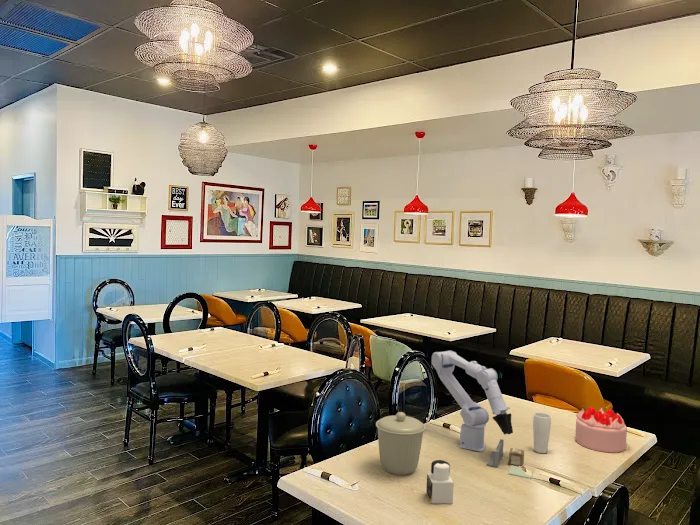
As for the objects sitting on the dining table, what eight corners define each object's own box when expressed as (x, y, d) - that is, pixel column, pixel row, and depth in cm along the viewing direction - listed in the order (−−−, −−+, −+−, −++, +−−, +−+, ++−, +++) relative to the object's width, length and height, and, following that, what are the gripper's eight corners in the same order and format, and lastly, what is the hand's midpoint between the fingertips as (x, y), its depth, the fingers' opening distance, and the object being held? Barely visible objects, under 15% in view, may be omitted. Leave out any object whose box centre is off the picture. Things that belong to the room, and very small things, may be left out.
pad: (508, 474, 194) (508, 473, 194) (511, 466, 202) (511, 465, 202) (531, 478, 191) (531, 477, 191) (533, 470, 198) (533, 469, 198)
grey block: (486, 465, 201) (487, 449, 201) (492, 452, 214) (493, 437, 214) (497, 467, 200) (498, 451, 199) (502, 454, 212) (503, 439, 212)
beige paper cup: (550, 455, 213) (552, 418, 212) (532, 453, 214) (534, 416, 214) (547, 449, 220) (549, 413, 219) (530, 447, 221) (532, 411, 220)
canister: (427, 463, 201) (430, 408, 200) (417, 483, 184) (420, 423, 183) (381, 455, 207) (383, 402, 206) (367, 474, 190) (370, 416, 189)
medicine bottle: (426, 493, 177) (427, 457, 177) (447, 493, 178) (448, 457, 177) (431, 503, 170) (432, 467, 170) (453, 503, 171) (454, 467, 170)
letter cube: (508, 465, 202) (509, 452, 202) (510, 460, 207) (510, 447, 207) (522, 468, 200) (522, 454, 200) (523, 463, 205) (524, 449, 205)
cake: (620, 457, 214) (622, 422, 213) (568, 444, 226) (570, 411, 225) (629, 443, 230) (631, 411, 229) (580, 432, 242) (582, 401, 241)
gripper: (501, 394, 202) (515, 430, 197) (508, 396, 215) (521, 430, 209) (484, 400, 205) (497, 436, 199) (491, 402, 217) (504, 435, 212)
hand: (508, 433), depth 204 cm, fingers open, 7 cm apart
